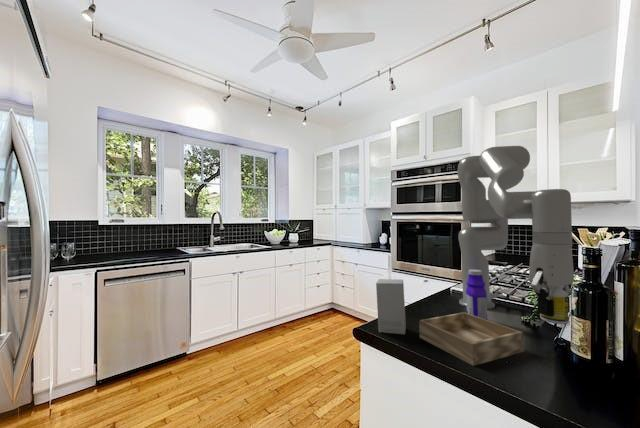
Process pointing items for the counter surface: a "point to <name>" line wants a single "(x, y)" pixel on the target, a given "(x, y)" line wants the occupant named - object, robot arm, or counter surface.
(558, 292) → the supplement bottle
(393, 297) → the skincare box
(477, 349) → the crate
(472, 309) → the bottle
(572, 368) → the counter surface
